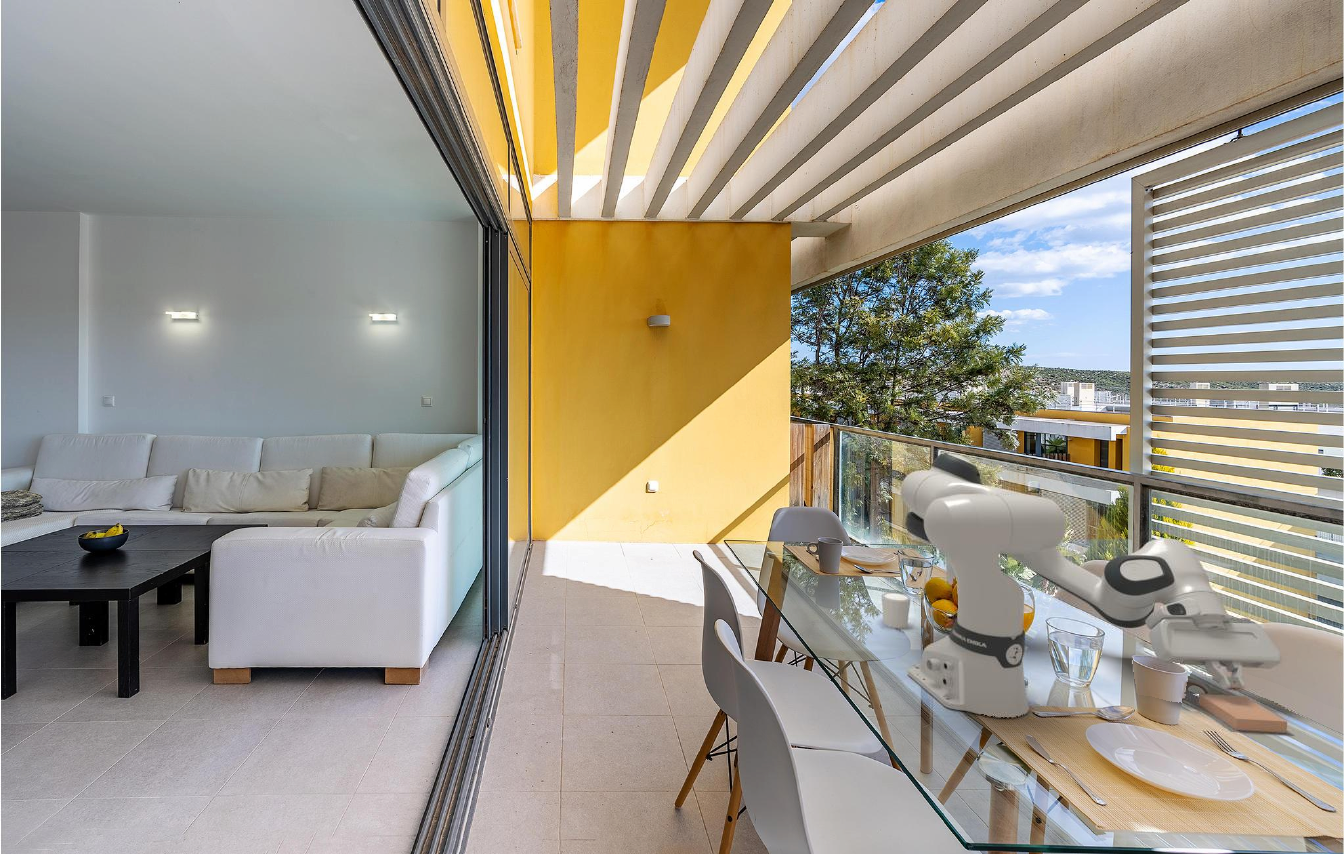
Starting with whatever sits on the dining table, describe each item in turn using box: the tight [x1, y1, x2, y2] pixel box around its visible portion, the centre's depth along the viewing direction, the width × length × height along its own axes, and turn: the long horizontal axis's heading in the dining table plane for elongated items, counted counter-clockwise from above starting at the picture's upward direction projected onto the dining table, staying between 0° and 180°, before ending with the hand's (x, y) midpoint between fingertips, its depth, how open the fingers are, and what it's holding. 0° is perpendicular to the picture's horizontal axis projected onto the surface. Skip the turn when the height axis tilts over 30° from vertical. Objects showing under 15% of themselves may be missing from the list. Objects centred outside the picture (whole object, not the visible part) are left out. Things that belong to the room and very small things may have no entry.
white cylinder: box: [881, 592, 912, 629], centre depth 161 cm, size 7×7×7 cm
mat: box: [1183, 692, 1294, 736], centre depth 118 cm, size 14×10×1 cm
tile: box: [1198, 693, 1288, 733], centre depth 115 cm, size 2×8×9 cm
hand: (1234, 688), depth 117 cm, fingers closed
